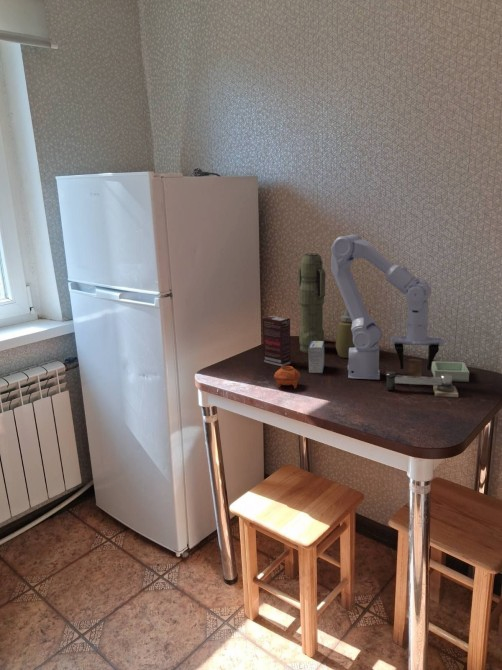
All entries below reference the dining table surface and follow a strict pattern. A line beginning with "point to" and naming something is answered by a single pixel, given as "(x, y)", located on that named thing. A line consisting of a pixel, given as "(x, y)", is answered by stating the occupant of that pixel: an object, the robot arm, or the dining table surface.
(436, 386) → the crank mount
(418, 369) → the plug
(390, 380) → the crank lever
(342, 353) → the squeeze bottle
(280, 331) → the supplement box
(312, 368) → the medicine box
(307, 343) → the thermos
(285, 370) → the pot
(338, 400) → the dining table surface
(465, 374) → the tray
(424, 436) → the dining table surface
